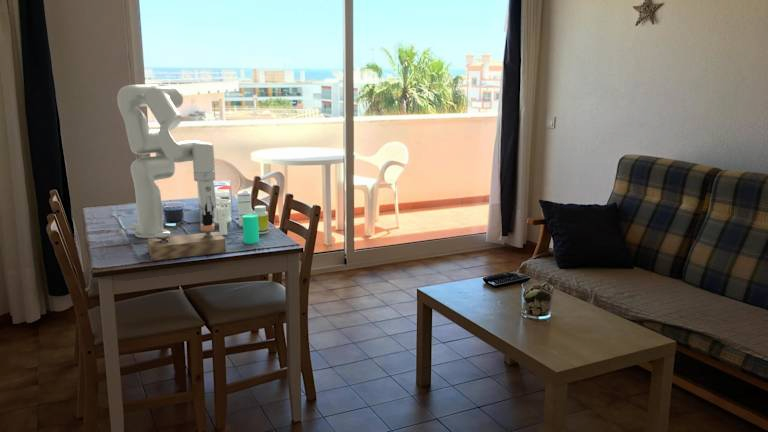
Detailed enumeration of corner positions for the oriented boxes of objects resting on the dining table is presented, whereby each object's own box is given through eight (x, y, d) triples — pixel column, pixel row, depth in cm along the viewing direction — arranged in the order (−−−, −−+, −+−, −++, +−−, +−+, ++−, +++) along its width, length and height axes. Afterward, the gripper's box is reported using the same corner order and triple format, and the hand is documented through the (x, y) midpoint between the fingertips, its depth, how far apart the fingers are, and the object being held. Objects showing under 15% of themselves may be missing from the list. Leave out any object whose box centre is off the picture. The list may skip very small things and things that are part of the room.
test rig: (152, 260, 227) (151, 247, 226) (148, 252, 238) (147, 238, 237) (225, 251, 238) (225, 238, 237) (219, 243, 249) (218, 231, 248)
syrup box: (252, 225, 277) (251, 192, 274) (238, 226, 276) (237, 193, 272) (252, 222, 282) (251, 190, 279) (238, 223, 281) (237, 190, 278)
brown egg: (203, 245, 238) (201, 226, 236) (200, 242, 242) (199, 224, 240) (216, 244, 240) (215, 225, 238) (214, 241, 244) (212, 222, 242)
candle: (255, 244, 249) (254, 213, 246) (241, 243, 250) (239, 213, 247) (261, 240, 254) (260, 210, 252) (247, 239, 256) (245, 209, 253)
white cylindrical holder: (225, 231, 268) (223, 195, 265) (235, 233, 264) (234, 198, 260) (211, 234, 263) (208, 198, 259) (221, 237, 258) (219, 200, 255)
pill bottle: (271, 231, 267) (270, 205, 265) (263, 235, 262) (261, 208, 259) (259, 230, 270) (258, 204, 267) (250, 233, 264) (249, 207, 262)
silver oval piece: (158, 253, 231) (156, 234, 229) (156, 250, 235) (154, 231, 234) (172, 252, 233) (171, 232, 231) (170, 248, 238) (169, 229, 236)
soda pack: (205, 208, 313) (204, 179, 309) (233, 206, 315) (231, 179, 312) (199, 228, 274) (197, 196, 271) (230, 226, 276) (228, 195, 273)
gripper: (219, 178, 230) (222, 228, 234) (210, 172, 243) (213, 219, 247) (197, 180, 227) (201, 230, 231) (190, 174, 240) (193, 221, 244)
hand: (207, 224), depth 239 cm, fingers closed
